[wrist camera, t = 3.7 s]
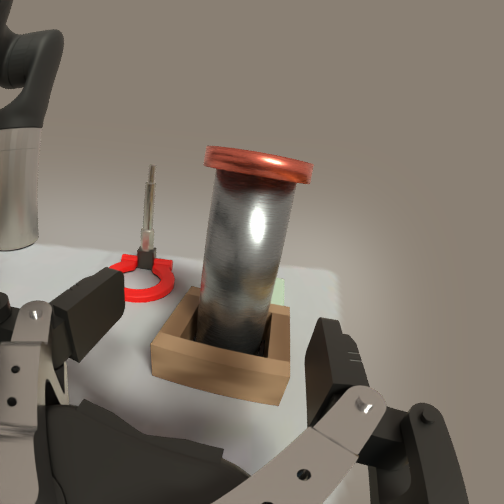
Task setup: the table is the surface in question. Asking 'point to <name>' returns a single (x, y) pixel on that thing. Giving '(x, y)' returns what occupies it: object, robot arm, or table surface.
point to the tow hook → (148, 254)
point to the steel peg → (244, 244)
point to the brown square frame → (223, 357)
